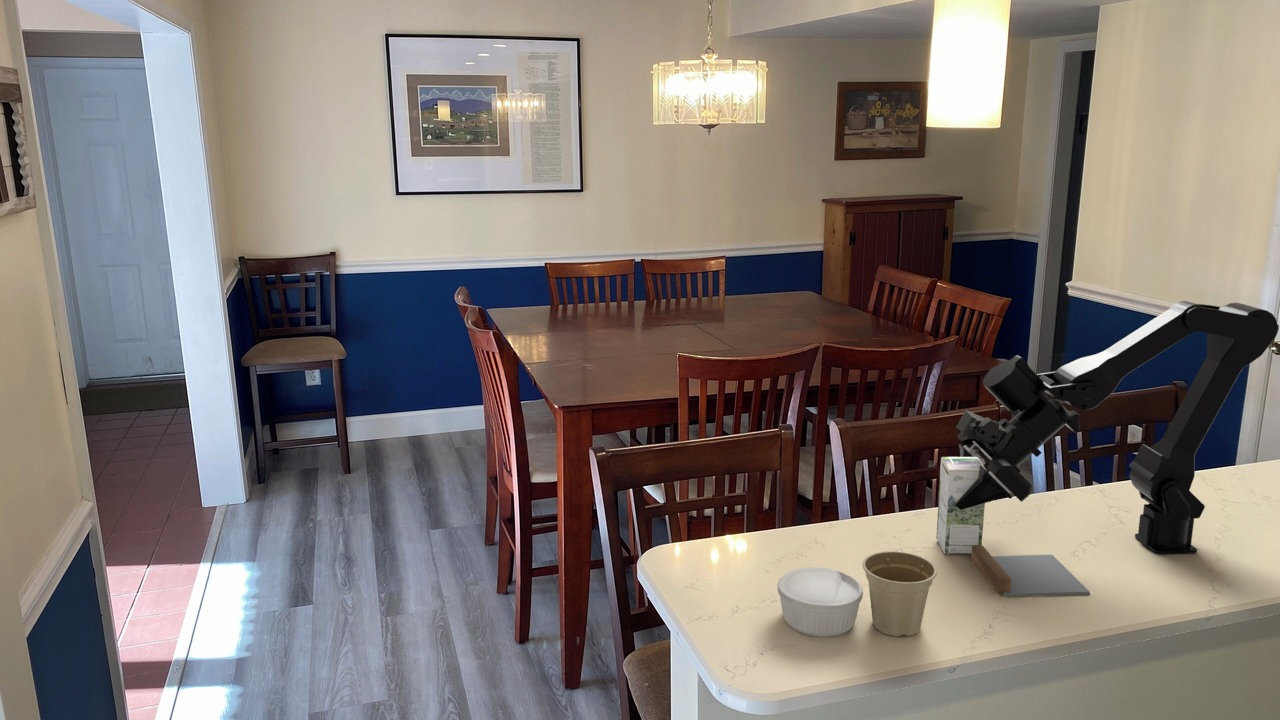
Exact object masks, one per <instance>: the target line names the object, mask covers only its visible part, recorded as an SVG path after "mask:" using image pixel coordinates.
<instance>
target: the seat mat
mask: <svg viewBox="0 0 1280 720" xmlns="http://www.w3.org/2000/svg"><path fill="white" fill-rule="evenodd" d="M991 556H992V555H991ZM992 557H993V558H994V559H995V560H996V562H997V563H998V564H999V565H1000V566H1001V567H1002V569H1003V570H1004V571H1005V572H1006V573H1007V574H1008V576H1009V577H1010V578H1011V587H1010V592H1003V595H1002V596H1003V597H1006V598H1009V597H1040V596H1043V597H1044V596H1047V597H1048V596H1076V595H1077V596H1078V595H1081V596H1082V595H1090V593H1091V591H1090V590H1089V589H1088V588H1087V587H1086V586H1085V585H1084V584H1083V583H1081V581H1079V579H1078V578H1076V577H1075V575H1074V574H1073V573H1072V572H1070V571H1069V569H1068V568H1067V567H1065V566H1064V564H1062V563H1061V561H1060V560H1059V559H1057V557H1055V556H1054V555H1053V554H1030V555H1029V554H1023V555H1022V554H1021V555H996V556H995V555H993V556H992Z"/></svg>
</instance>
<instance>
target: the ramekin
mask: <svg viewBox="0 0 1280 720" xmlns="http://www.w3.org/2000/svg"><path fill="white" fill-rule="evenodd" d="M777 592H778V595H779V599H780V600H779V601H780V605H781V610H782V615H783V618H784V620H785V622H786V623H787V624H788V625H789V626H790V627H791V628H792V629H793V628H794V630H795V631H796V630H797V631H796V632H798V631H799V633H800V632H801V633H800V634H803V633H804V634H803V635H806V634H807V636H810V637H816V636H817V638H831V637H830V636H832V637H836V635H837V636H840V635H843V634H845V633H847V632H849V631H850V629H852V628H853V627H854V626H855V624H856V621H857V616H858V613H859V609H860V604H861V602H862V600H863V595H864V589H863V586H862V585H861V583H860V582H859V581H858V580H857V579H856V578H855V577H853V576H851V575H850V574H847V573H845V572H843V571H839V570H837V569H832V568H828V567H827V568H826V567H803V568H797V569H793V570H790V571H788V572H786V573H784V574H783V575H782V576H781V577H779V579H778V582H777ZM842 633H843V634H842Z"/></svg>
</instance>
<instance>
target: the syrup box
mask: <svg viewBox="0 0 1280 720" xmlns="http://www.w3.org/2000/svg"><path fill="white" fill-rule="evenodd" d="M980 465H981V466H982V467H983V468H984V469H985V470H987V468H986V467H985V464H984V465H983V464H982V462H981V461H980V459H979V458H978V457H960V456H942V457H940V468H939V469H940V470H939V485H938V486H939V490H938V504H937V505H938V506H937V524H936V535H935V536H936V537H935V538H936V539H937V542H938V545H939V546H940V549H941V550H942V552H943V554H944V555H952V556H953V555H958V556H959V555H960V556H961V555H963V556H965V555H966V556H970V555H971V554H972V546H975V545H983V534H984V533H983V531H984V522H985V521H984V520H985V517H984V516H985V507H986V503H983V504H980V505H976V506H973V507H969V508H966V509H962V510H960V509H959V508H958V507H957V506H956V503H957V502H958V501H959V499H960V498H961V497H962V496H963V495H964V494H965V493H966V491H967V490H968V489H969V488H970V487H971V486H972V485H973V484H974V483H975V482H976V480H977V479H978V477H979V468H980Z"/></svg>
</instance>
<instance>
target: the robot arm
mask: <svg viewBox="0 0 1280 720" xmlns="http://www.w3.org/2000/svg"><path fill="white" fill-rule="evenodd" d="M1279 330H1280V325H1279V324H1278V322H1277V318H1276V317H1275V315H1274V314H1273V313H1272V312H1271V311H1268V310H1265V309H1262V308H1258V307H1256V306H1251V305H1247V304H1244V303H1239V302H1230V303H1227V304H1226V305H1222V306H1217V305H1211V304H1203V303H1195V302H1191V301H1187V300H1181V301H1180V300H1179V301H1177V302H1175V303H1173V304H1171V306H1169V308H1168V309H1167V310H1166V311H1164V312H1162V313H1161V314H1159V315H1157V316H1156V317H1154V318H1153V319H1151V320H1150V321H1148V322H1147V323H1145V324H1144V325H1141V326H1140V327H1139V328H1138V329H1136V330H1134V331H1133V332H1131V333H1129V334H1128V335H1126V336H1125V337H1123V338H1122V339H1120V340H1119V341H1117V342H1115V343H1114V344H1113V345H1111V346H1110V347H1107V348H1106V349H1105V350H1103V351H1101V352H1098V353H1096V354H1092V355H1087V356H1083V357H1080V358H1077V359H1075V360H1073V361H1071V362H1069V363H1066V364H1064V365H1062V366H1060V367H1059V368H1058V369H1056V370H1055V371H1049V372H1041V373H1036V372H1035V371H1034V370H1033V369H1032V368H1031V367H1030V365H1029V364H1028V362H1027V361H1026V360H1025V359H1024V358H1023V357H1021V356H1019V355H1018V354H1017V355H1015V356H1013V357H1012V358H1011V359H1009V360H1004V361H1002V362H1001V363H999V364H997V365H994V366H992V367H991V368H990V369H989V371H988V372H987V373H986V374H985V375H984V378H983V379H982V386H983V387H984V388H986V390H988V392H989V393H991V395H992V396H993V397H994V398H996V400H997V401H999V403H1000V404H1002V407H1004V408H1006V410H1007V411H1009V412H1015V411H1018V413H1017V414H1016V415H1015V416H1013V418H1011V419H1010V420H1008V419H1007V418H1006V417H1005V418H1001V419H999V421H998V422H997V421H996V420H992V419H991V418H989V417H988V416H987V417H983V416H982V415H979V414H976V413H974V412H972V411H969V410H968V409H967V410H964V412H963V414H962V416H961V418H960V419H959V420H958V421H959V422H958V423H957V425H956V426H955V429H957V430H959V431H960V432H959V433H958V435H956V437H957V438H958V439H959V440H960V442H961V443H962V444H964V445H962V444H961V443H959V444H958V448H959V457H978V458H979V459H980V461H981V462H982V464H983V465H984V466H986V468H985V469H986V470H985V469H984V468H983V467H982V466H981V465H980V468H979V477H978V479H977V480H976V482H975V483H974V484H973V485H972V486H971V487H970V488H969V489H968V490H967V491H966V493H965V494H964V495H963V496H962V497H961V498H960V499H959V501H958V502H957V503H956V506H957V507H958V508H959V509H960V510H962V509H966V508H969V507H973V506H976V505H980V504H983V503H985V504H986V503H990V502H994V501H998V500H999V501H1000V500H1003V499H1010V500H1011V499H1012V498H1013V495H1014V497H1016V499H1018V501H1020V502H1021V503H1022V502H1024V500H1026V499H1027V498H1028V497H1029V496H1030V495H1031V494H1032V489H1033V488H1032V487H1033V486H1032V484H1031V483H1030V482H1029V480H1027V479H1026V478H1025V477H1024V476H1023V475H1022V474H1021V472H1022V470H1021V469H1019V466H1020V465H1021V464H1022V463H1024V462H1025V461H1026V460H1027V459H1029V457H1030V456H1031V455H1033V456H1035V457H1036V458H1038V457H1039V456H1040V455H1041V454H1042V451H1041V450H1040V449H1039V448H1041V447H1042V446H1043V445H1044V444H1046V442H1048V441H1049V439H1051V438H1052V437H1054V435H1056V433H1058V431H1060V430H1061V429H1062V428H1063V427H1065V426H1066V427H1067V428H1068V429H1070V430H1071V431H1072V432H1074V434H1075V433H1076V434H1078V433H1079V432H1080V417H1081V415H1080V414H1079V413H1078V412H1076V411H1074V410H1067V408H1065V407H1064V405H1063V404H1062V403H1061V402H1059V401H1063V402H1065V403H1066V404H1068V405H1070V406H1071V407H1072V408H1075V409H1077V410H1081V411H1082V410H1083V411H1089V410H1092V409H1094V408H1097V407H1098V406H1099V405H1100V404H1101V403H1103V402H1104V401H1105V400H1106V399H1107V398H1108V397H1109V396H1111V395H1112V394H1113V393H1114V392H1115V390H1116V389H1117V387H1118V386H1119V384H1120V382H1121V381H1122V380H1123V379H1124V378H1125V377H1126V376H1127V375H1129V374H1131V373H1132V372H1134V371H1135V370H1137V369H1138V368H1140V367H1141V366H1143V365H1144V364H1146V363H1148V362H1149V361H1151V360H1152V359H1154V358H1155V357H1158V356H1159V355H1160V354H1162V353H1163V352H1165V351H1166V350H1168V349H1170V348H1171V347H1174V345H1176V344H1178V343H1180V342H1181V341H1182V340H1184V339H1186V338H1187V337H1189V336H1190V335H1192V334H1193V333H1195V332H1200V333H1206V356H1205V359H1204V360H1203V362H1202V364H1201V366H1200V368H1199V369H1198V372H1197V373H1196V375H1195V377H1194V379H1193V381H1192V383H1191V384H1190V387H1189V388H1188V390H1187V392H1186V394H1185V395H1184V398H1183V399H1182V401H1181V403H1180V404H1179V406H1178V409H1177V411H1176V412H1175V415H1174V416H1173V418H1172V420H1171V422H1170V423H1169V426H1168V427H1167V428H1166V431H1165V433H1164V434H1163V436H1162V438H1161V439H1160V440H1159V441H1157V442H1156V443H1154V444H1153V445H1152V446H1148V445H1147V444H1144V443H1142V444H1141V445H1140V446H1139V448H1138V450H1137V454H1136V456H1135V457H1134V459H1133V461H1131V462H1130V463H1129V465H1128V466H1129V467H1130V468H1131V470H1130V472H1129V479H1130V481H1131V484H1132V486H1133V487H1134V488H1135V489H1136V490H1138V492H1139V497H1140V499H1142V500H1145V502H1147V503H1144V504H1143V508H1142V509H1143V510H1142V514H1141V513H1140V515H1139V521H1138V522H1139V523H1138V530H1137V531H1138V533H1135V534H1134V538H1135V539H1137V540H1138V541H1139V542H1140V543H1142V544H1143V545H1144V546H1146V547H1147V548H1148V549H1149V550H1150V551H1152V552H1153V553H1155V554H1190V553H1194V554H1195V553H1197V552H1198V548H1197V547H1195V546H1194V545H1192V540H1193V539H1192V538H1193V533H1194V526H1195V525H1194V523H1195V519H1200V517H1201V516H1202V513H1203V512H1204V510H1205V507H1206V506H1205V504H1203V502H1202V501H1201V500H1199V498H1197V496H1196V495H1194V494H1193V493H1192V491H1190V490H1191V487H1192V484H1193V482H1194V479H1195V472H1196V471H1195V469H1196V467H1195V465H1196V463H1195V462H1196V460H1195V459H1196V454H1197V451H1198V449H1199V448H1200V446H1201V444H1202V443H1203V440H1204V439H1205V437H1206V435H1207V433H1208V431H1209V430H1210V428H1211V426H1212V424H1214V423H1213V422H1214V421H1215V419H1216V417H1217V415H1218V413H1219V411H1220V409H1221V408H1222V406H1223V404H1224V403H1225V401H1226V399H1227V397H1228V395H1229V394H1230V392H1231V390H1232V388H1233V386H1234V384H1235V382H1236V381H1237V379H1238V377H1239V375H1240V374H1241V372H1242V371H1243V370H1244V368H1246V367H1247V366H1249V365H1250V364H1252V363H1253V362H1254V361H1255V360H1257V359H1259V358H1260V357H1262V355H1263V354H1264V353H1265V352H1266V351H1267V350H1268V348H1269V347H1270V345H1271V344H1272V343H1273V342H1274V341H1275V339H1276V337H1277V336H1278V333H1279ZM1044 392H1045V393H1047V394H1048V395H1050V396H1051V397H1053V398H1054V399H1047V398H1046V397H1045V396H1044V394H1043V393H1044ZM1011 493H1012V495H1011Z"/></svg>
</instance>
